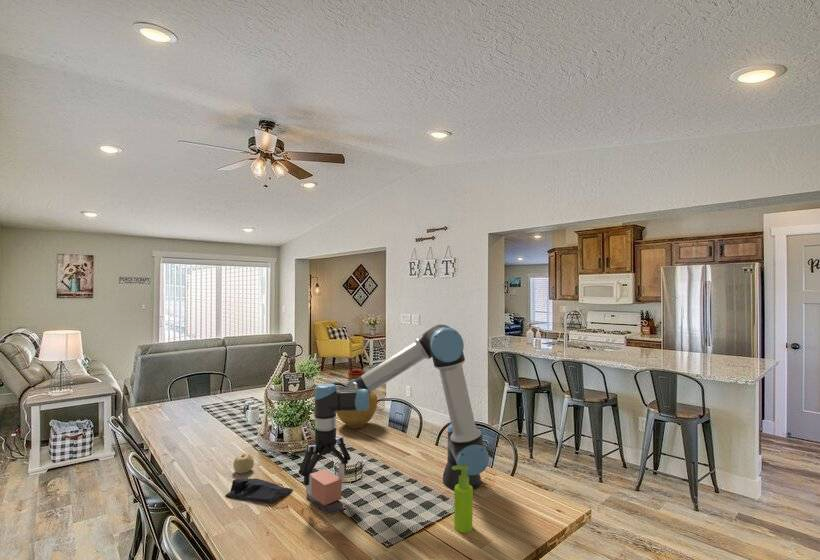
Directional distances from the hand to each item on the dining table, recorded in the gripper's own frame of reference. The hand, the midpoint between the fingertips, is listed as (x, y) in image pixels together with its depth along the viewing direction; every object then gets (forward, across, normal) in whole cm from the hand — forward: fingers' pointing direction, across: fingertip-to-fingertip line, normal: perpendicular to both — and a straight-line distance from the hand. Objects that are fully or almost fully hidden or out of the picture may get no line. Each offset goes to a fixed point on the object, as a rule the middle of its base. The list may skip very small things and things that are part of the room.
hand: (325, 487), depth 156 cm
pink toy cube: (+6, 0, 0) cm, 6 cm away
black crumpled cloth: (+6, +14, -23) cm, 28 cm away
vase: (+6, -58, -61) cm, 84 cm away
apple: (+5, +12, -45) cm, 47 cm away
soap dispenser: (+7, -25, +43) cm, 50 cm away
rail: (+6, 0, 0) cm, 6 cm away
